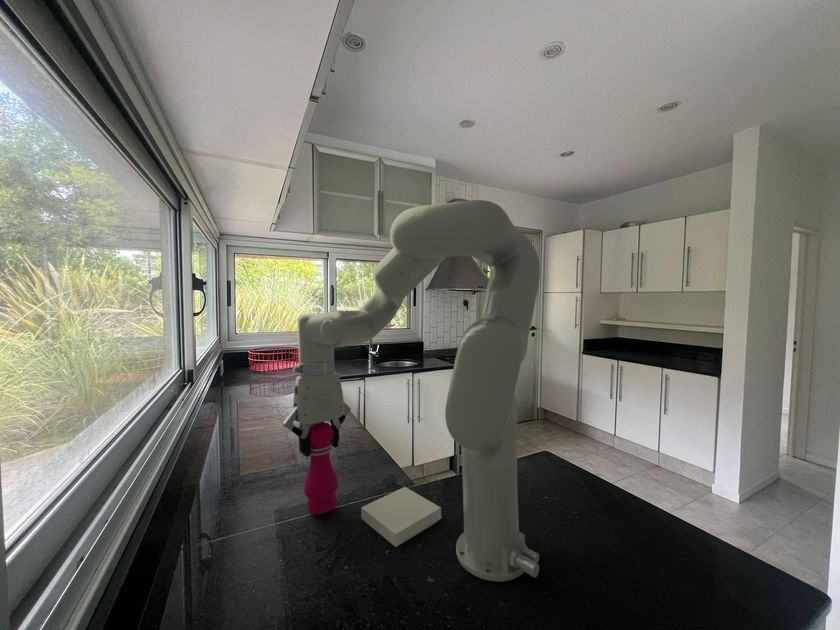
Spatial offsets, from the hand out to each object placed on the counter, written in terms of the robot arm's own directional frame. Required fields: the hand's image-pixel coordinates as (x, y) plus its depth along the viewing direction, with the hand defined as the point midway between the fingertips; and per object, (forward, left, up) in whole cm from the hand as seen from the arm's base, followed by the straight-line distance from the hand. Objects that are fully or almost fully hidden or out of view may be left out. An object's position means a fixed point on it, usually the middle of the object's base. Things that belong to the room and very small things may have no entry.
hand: (320, 449), depth 73 cm
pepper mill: (0, 0, -13) cm, 13 cm away
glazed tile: (-8, -11, -13) cm, 19 cm away
